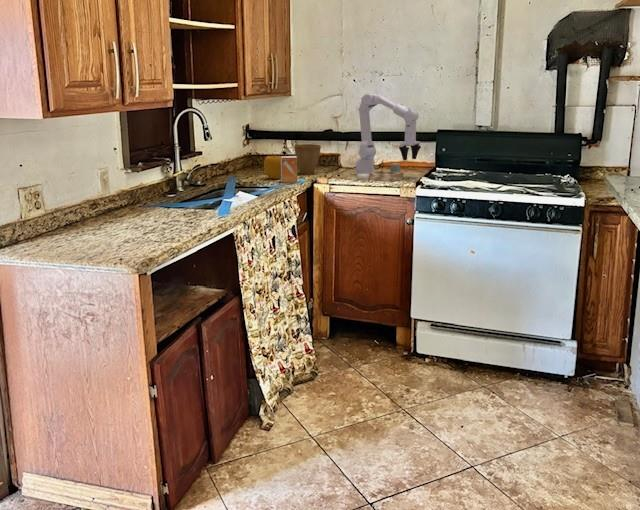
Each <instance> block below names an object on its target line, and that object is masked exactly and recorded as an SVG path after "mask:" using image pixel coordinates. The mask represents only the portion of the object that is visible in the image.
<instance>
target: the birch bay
mask: <svg viewBox="0 0 640 510" xmlns="http://www.w3.org/2000/svg"><path fill="white" fill-rule="evenodd" d="M404 175H405V173H404V172H403V171H400V172H392V171H390V170H377V171H374V172H372V173H369V180H368V181H380V182H387V183H388V182H390V183H394V182H397V181H402V180H404Z"/></svg>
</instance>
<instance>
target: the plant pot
mask: <svg viewBox="0 0 640 510" xmlns="http://www.w3.org/2000/svg"><path fill="white" fill-rule="evenodd" d="M321 147H322V145H320V144H312V143H311V144H309V143H308V144H307V143H305V144H294V155H295V156H296V157H297V167H298V169H299V172H300V174H301V175H314V174H315V172H316V169H317V166H318V163H319V158H320V154H321V149H322V148H321Z"/></svg>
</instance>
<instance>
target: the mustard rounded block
mask: <svg viewBox="0 0 640 510" xmlns="http://www.w3.org/2000/svg"><path fill="white" fill-rule="evenodd" d="M281 156H282V155H281ZM281 156H280V155H276V154H274V155H267V156H266V157H264V161H263V169H264V171H265V174H266V176H267V177H268V178H269V179H273V180H281Z"/></svg>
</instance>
